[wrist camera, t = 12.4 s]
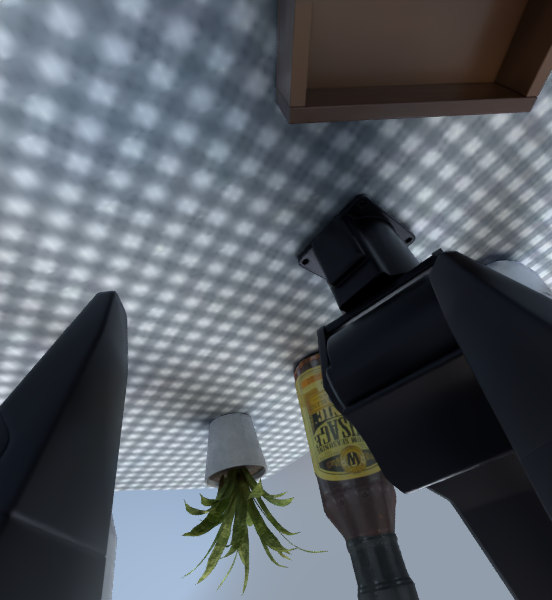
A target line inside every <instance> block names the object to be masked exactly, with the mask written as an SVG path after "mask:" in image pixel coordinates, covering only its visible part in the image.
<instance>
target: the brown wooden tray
mask: <svg viewBox="0 0 552 600" xmlns="http://www.w3.org/2000/svg"><path fill="white" fill-rule="evenodd" d="M551 70H552V0H278V21H277V65H276V103H277V105H278V106H279V108H280V109H281V111H282V113H283V114H284V116H285V118H286V119H287V121H288V123H289V124H298V123H319V122H339V121H359V120H379V119H399V118H419V117H439V116H459V115H479V114H499V113H519V112H530V111H531V109H532V107H533V105H534V103H535V101H536V99H537V97H536V96H538V95H539V93H540V92H541V90H542V88H543V86H544V84H545V82H546V80H547V78H548V76H549V74H550V72H551Z"/></svg>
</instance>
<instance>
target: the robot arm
mask: <svg viewBox="0 0 552 600" xmlns="http://www.w3.org/2000/svg"><path fill="white" fill-rule="evenodd" d="M363 200H364V202H363V203H362V204H359V203H360V202H361V201H363ZM407 238H408V239H407ZM414 240H415V236H414V235H413V233H412V232H411V231H410V230H408V229H407V228H406V227H405V226H404V225H402V224H401V223H400V222H399V221H397V220H396V219H395V218H394V217H392V216H391V215H390V214H389V213H388V212H386V211H385V210H384V209H383V208H381V207H380V206H379V205H378V204H377V203H375V202H374V201H373V200H372V199H370V198H369V197H368V196H367V195H365V194H359V195H357V196H356V197H355V198H354V199H353V200H352V201H351V202H350V203H349V204H348V205H347V206H346V207H345V208H344V209H343V210H342V211H341V213H340V214H339V215H338V216H337V217H336V218H335V219H334V220H333V221H332V222H331V223H330V224H329V225H328V226H327V227H326V228H325V229H324V230H323V231H322V232H321V233H320V234H319V235H318V236H317V237H316V238H315V239H314V240H313V241H312V243H311V244H310V245H309V246H308V247H307V248H306V249H305V250H304V251H303V252H302V253H301V254H300V255H299V256H298V259H297V260H298V263H299V265H300V266H301V267H303V268H305V269H307V270H309V271H311V272H313V273H315V274H316V275H318V276H320V277H322V278H324V279H326V280H327V282H328V284H329V286H330V288H331V290H332V293H333V295H334V297H335V300H336V302H337V304H338V306H339V309H340V311H341V313H342V316H340V317H339V318H337V319H336V320H334V321H333V322H331V323H330V324H328V325H327V326H323V327H321V328H320V329H318V330H317V336H318V346H319V355H320V364H321V373H322V380H323V387H324V390H325V391H326V393H327V394H328V398H329V400H330V401H331V403H333V404H334V406H335V407H336V408H337V410H338V411H339V412H340V414H341V415H342V416H343V417H344V418H345V419H346V420H348V421H349V422H350V423H351V424H352V425H353V426H354V428H355V429H356V430H357V431H358V433H359V434H360V436H361V437H362V439H363V440H364V441H365V443H366V445H367V446H368V448H369V450H370V451H371V453H372V455H373V457H374V458H375V460H376V462H377V464H378V466H379V468H380V469H381V471H382V473H383V475H384V477H385V478H386V479H387V480H388V481H389V482H390V483H392V484H393V485H394V486H395V487H397V488H398V489H399V490H400V491H401V492H403V493H405V494H409V493H412V492H414V491H417V490H419V489H422V488H425V487H426V488H428V489H429V490H431V491H433V492H435V493H437V494H438V495H440V496H442V497H443V498H445V499H447V500H448V501H450V503H451V504H452V505H453V507H454V508H455V510H456V511H457V512H458V514H459V515H460V517H461V519H462V520H463V522H464V523H465V525H466V526H467V527H468V529H469V531H470V532H471V534H472V535H473V537H474V538H475V540H476V541H477V543H478V544H479V546H480V547H481V549H482V550H483V552H484V553H485V555H486V556H487V558H488V559H489V561H490V563H491V564H492V566H493V567H494V569H495V570H496V572H497V573H498V575H499V576H500V578H501V579H502V581H503V582H504V584H505V585H506V587H507V588H508V590H509V591H510V593H511V594H512V596H513V597H514V599H515V600H552V299H551V298H549V297H547V296H545V295H543V294H541V293H539V292H537V291H535V290H533V289H531V288H529V287H527V286H525V285H523V284H521V283H519V282H517V281H515V280H513V279H511V278H509V277H507V276H505V275H503V274H501V273H499V272H497V271H495V270H493V269H491V268H489V267H487V266H485V265H483V264H481V263H479V262H477V261H475V260H473V259H471V258H469V257H467V256H465V255H463V254H461V253H459V252H457V251H445V252H443V251H442V249H441V248H440V249H438V250H437V251H435V252H434V253H432V256H430V257H429V258H427V259H426V260H424V261H423V262H421V263H419V262H418V261H417V259H416V258H415V257H414V255H413V254H412V253H411V251H410V250H409V248H408V246H409V245H410V244H412V243H413V241H414ZM304 259H307V260H305V261H303V260H304ZM127 375H128V340H127V315H126V312H125V309H124V307H123V305H122V303H121V300H120V298H119V296H118V294H117V293H116V292H115V291H107V292H100V293H98V294H96V295H95V296H94V298H93V299H92V300H91V301H90V302H89V303H88V305H87V306H86V307H85V308H84V309H83V310H82V312H81V313H80V314H79V315H78V316H77V317H76V319H75V320H74V321H73V322H72V323H71V324H70V326H69V327H68V328H67V329H66V330H65V331H64V332H63V334H62V335H61V336H60V337H59V338H58V339H57V341H56V342H55V343H54V344H53V345H52V346H51V348H50V349H49V350H48V351H47V352H46V353H45V355H44V356H43V357H42V358H41V359H40V360H39V362H38V363H37V364H36V365H35V366H34V367H33V368H32V370H31V371H30V372H29V373H28V374H27V375H26V377H25V378H24V379H23V380H22V381H21V382H20V384H19V385H18V386H17V387H16V388H15V389H14V391H13V392H12V393H11V394H10V395H9V396H8V398H7V399H6V400H5V401H4V402H3V403H2V405H1V406H0V600H101V599H102V591H103V582H104V574H105V565H106V557H105V556H106V555H107V547H108V538H109V530H110V521H111V513H112V504H113V496H114V487H115V479H116V470H117V462H118V453H119V445H120V436H121V428H122V419H123V411H124V402H125V394H126V385H127Z"/></svg>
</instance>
